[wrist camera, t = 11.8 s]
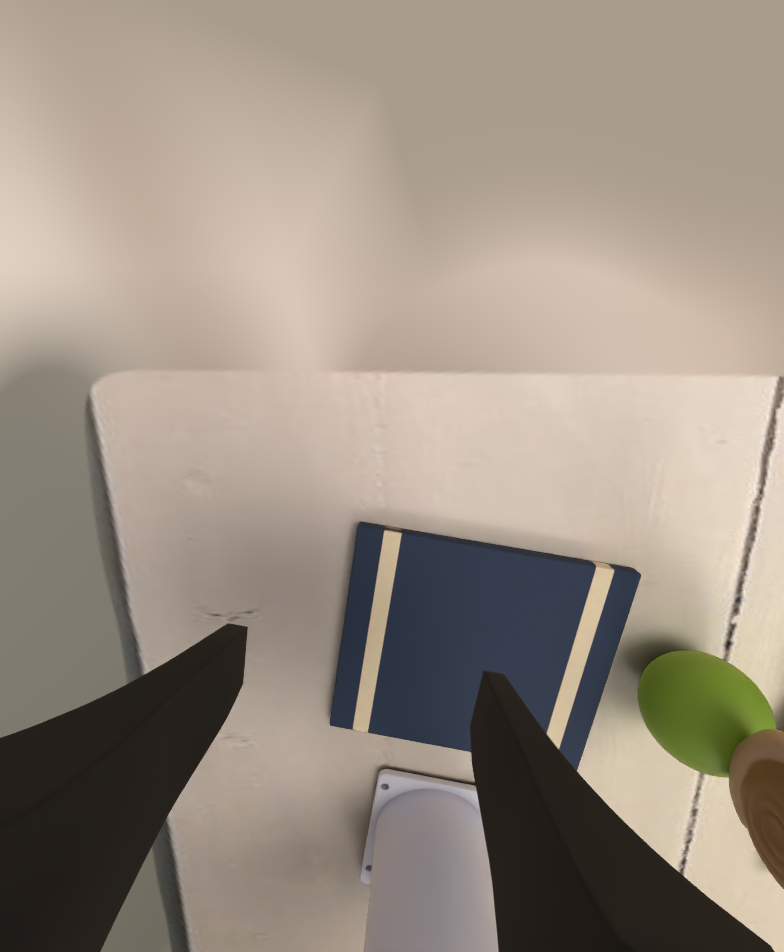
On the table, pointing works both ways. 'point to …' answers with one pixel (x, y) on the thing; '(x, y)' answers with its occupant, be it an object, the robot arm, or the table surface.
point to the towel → (474, 636)
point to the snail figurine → (721, 738)
